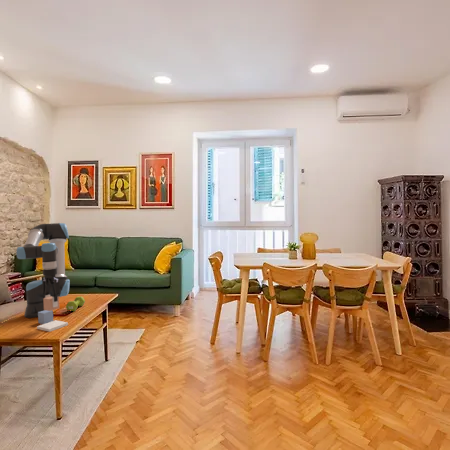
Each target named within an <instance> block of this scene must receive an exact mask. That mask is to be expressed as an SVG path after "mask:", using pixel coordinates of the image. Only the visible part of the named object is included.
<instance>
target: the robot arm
mask: <svg viewBox="0 0 450 450" xmlns="http://www.w3.org/2000/svg"><path fill="white" fill-rule="evenodd" d="M68 230H69V229H68V226H67V224H66V223H62V222H61V223H60V222H55V223H41V224H38V225H35V226H34V227H32V228H31V229H30V230H28V233H27V239H26V241H25V243H24V245H23V246H18V247H17V248H16V258H17V259H18V260H26V259H27V260H28V259H30V260H31V259H41V260H42V276H44V277H41V279H37V280H33V281H31V282H28V283H27V284H26V285H25V286H26V287H25V292H26V293H25V295H26V307H25V310H24V318H27V319H29V318H30V319H31V318H33V319H34V318H38V312H41V311H44V301H43V298H47V297H51V296H52V303H53V307H57V306H58V302H57V301H58V297H59V298H62V297H66V296H68V294H69V292H70V284H71V283H70V282H71V281H70V279H69V278H68V276H67V275H66V264H65V263H66V261H65V260H66V258H65V256H66V255H65V243H66V242H67V239H69V238H70V237H69V235H70V234H69V231H68ZM42 240H43V241H44V240H48V242H46V243H45V242H44V243H42V244H41V245H40V242H41V241H42Z"/></svg>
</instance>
